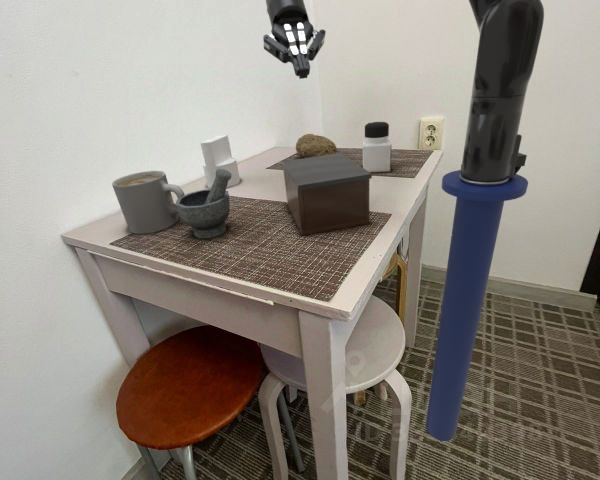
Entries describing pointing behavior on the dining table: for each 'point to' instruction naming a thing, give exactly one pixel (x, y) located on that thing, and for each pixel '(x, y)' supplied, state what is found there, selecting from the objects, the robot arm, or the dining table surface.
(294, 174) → the dark grey box lid
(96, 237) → the dining table surface
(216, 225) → the mortar and pestle
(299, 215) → the open box
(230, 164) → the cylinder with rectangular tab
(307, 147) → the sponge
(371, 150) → the medicine bottle
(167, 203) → the coffee mug
